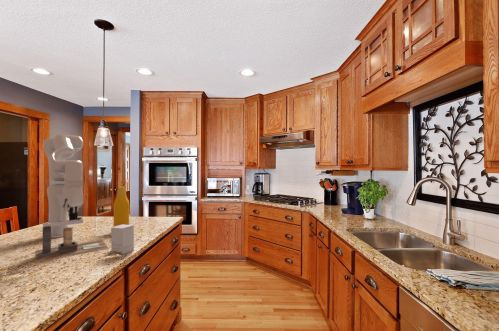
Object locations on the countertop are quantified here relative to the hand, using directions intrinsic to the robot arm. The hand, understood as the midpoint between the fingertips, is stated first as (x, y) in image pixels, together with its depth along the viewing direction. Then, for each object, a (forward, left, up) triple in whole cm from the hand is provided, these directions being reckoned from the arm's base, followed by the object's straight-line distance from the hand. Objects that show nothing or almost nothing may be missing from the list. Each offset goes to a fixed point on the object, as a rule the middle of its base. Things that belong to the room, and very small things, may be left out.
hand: (73, 220), depth 126 cm
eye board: (+5, -1, -15) cm, 16 cm away
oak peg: (+5, -3, -13) cm, 15 cm away
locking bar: (+5, -4, -1) cm, 7 cm away
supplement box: (+20, +18, -15) cm, 31 cm away
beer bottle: (-23, +27, -15) cm, 39 cm away
